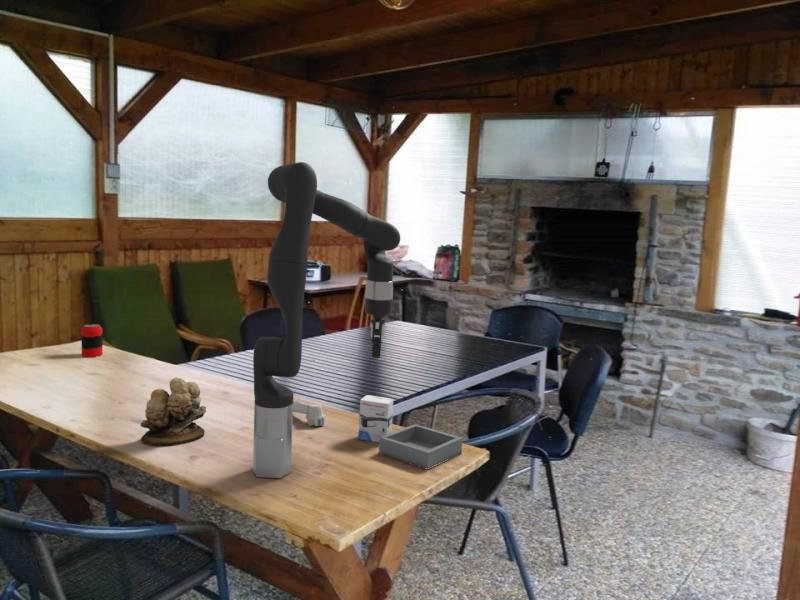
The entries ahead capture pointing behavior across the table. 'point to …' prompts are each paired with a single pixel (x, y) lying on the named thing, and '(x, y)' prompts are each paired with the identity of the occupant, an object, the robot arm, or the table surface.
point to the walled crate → (420, 446)
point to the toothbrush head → (310, 412)
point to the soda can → (92, 340)
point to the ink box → (375, 418)
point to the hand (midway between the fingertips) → (376, 354)
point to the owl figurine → (173, 415)
